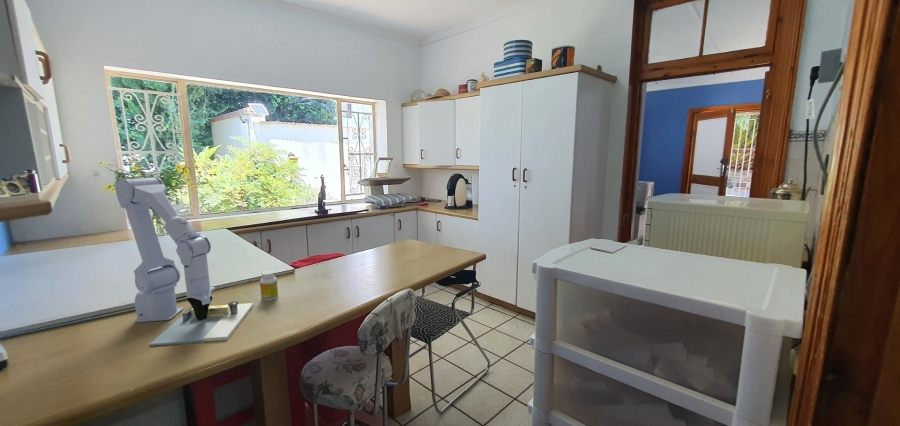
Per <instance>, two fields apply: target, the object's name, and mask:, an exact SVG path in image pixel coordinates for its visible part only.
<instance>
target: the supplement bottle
mask: <svg viewBox="0 0 900 426" xmlns="http://www.w3.org/2000/svg"><path fill="white" fill-rule="evenodd" d="M259 284H260V286H259V287H260V296H261V297H260V298H261V300H262V301H264V302H265V301H273V300H276V299H277V298H278V297H279V293H278V292H279V291H278V279H277V277H276V276H275V271H274V270H266V271H263V272H261V279H260V280H259Z"/></svg>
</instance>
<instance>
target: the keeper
mask: <svg viewBox="0 0 900 426" xmlns="http://www.w3.org/2000/svg"><path fill="white" fill-rule="evenodd" d="M209 306H213V304H212V303H210V305H209ZM191 309H193V308H192V306H189V307H188V308H187V309H186V310H185V311H184V312H182V315H181V316H183V321H188V320H189V319H190V318H191V317H193V316H192V315H191Z"/></svg>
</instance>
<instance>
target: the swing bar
mask: <svg viewBox="0 0 900 426" xmlns="http://www.w3.org/2000/svg"><path fill="white" fill-rule="evenodd" d="M229 312H230V306H228V304H219V305H218V304H217V305H216V304H215V305H212V306H209V308H208V314H207V315H220V314H228V313H229ZM191 315H192V316H196V315H195V313H194V310H193V309H191Z"/></svg>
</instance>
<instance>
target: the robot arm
mask: <svg viewBox="0 0 900 426" xmlns="http://www.w3.org/2000/svg"><path fill="white" fill-rule="evenodd" d="M114 191H115V194H116V196H117V200H118V203H119V205H120V208H122V209H124V210H125V212H126V215H127V219H128V221H129V224H130V227H131V231H132V233H133V236H134V237H133V238H134V239H135V243H136V245H137V250H138V252H139V255H140V258H141V263H140V264H139V265H138V266H137V267H136V268H135V269H134V271H133V273H134V284H135V287H136V289H137V290H138V292H137V293H136V294H135V297H134V307H135V315H136V320H135V323H142V322H143V323H144V322H157V321H158V322H159V321H169V320H172V319H173V318H174V317H175V316H177V315H178V314H179V313H180V312H182V311H183V310H184V307H182V306H181V307H178V306H177V298H176V290H175V287H177V285H178V282H179V281H180V280H181V272H180V269H179V268H178V267H177V265H176V264H175V261H174V259H170V258H167V257H164V254H163V250H162V247H161V245H160V244H161V243H160V241H159V238H158V234H157V231H156V228H155V226H154V222H153V220H152V216H151V213H150V208H152V210H154V213H155V212H156V214H157V215H158V216H159V217H160V218H161V219H162V220H163V222H164V230H165V232H167V234H168V235H169V238H170V239H172V241H173V242H174V243H175V244H176V249H175V251H176V254H177V255H178V257H179V260H180V264H181V265H183V271H184V280H185V287H186V293H185V294H186V297H187V299H186V300H187V302H188V303H189V304H190V307H192V308H193V310H194V313H195V315H196V318H197V320H198V321H201V320H204V319H207V314H208V308H209V305H210V304H212V303H211V302H212V301H213V296H212V295H211V293H212V292H213V291H215V290H216V287H215V286H211V283H210V274H209V266H208V265H209V264H208V254H209V253H210V251H211V250H212V246H211V242H210V239H208V237H207V236H206V235H205V236H204V235H203V234H201V233H197V231H196V230H195V229H194V227H193V226H192V225H191V224H190V223H189V221H188V219H187V218H185V217H182V216H179V215H178V213H177V212H176V210H175V208H174V207H173V205H172V203H171V202H170V200H169V199H168V197H167V195H166V194H167V187H166V184H165V183H164V181H163V180H162V179H161V178H159V177H158V176H153V177H141V178H140V177H139V178H137V177H136V178H121V179H118V181H117V182H116V185H115V188H114Z"/></svg>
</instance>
